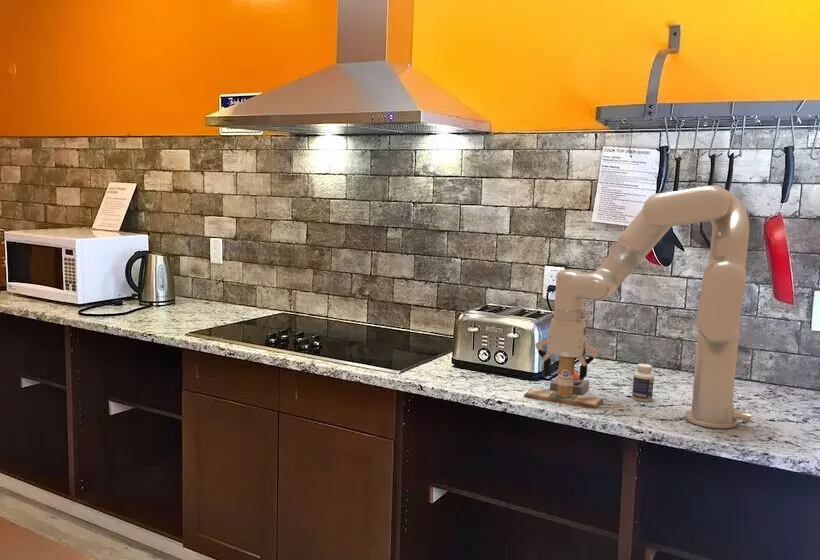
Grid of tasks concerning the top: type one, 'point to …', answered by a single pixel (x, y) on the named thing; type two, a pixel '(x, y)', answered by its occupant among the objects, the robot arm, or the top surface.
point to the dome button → (576, 378)
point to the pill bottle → (643, 383)
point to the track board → (574, 400)
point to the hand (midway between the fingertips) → (564, 376)
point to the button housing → (577, 389)
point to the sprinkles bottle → (565, 376)
